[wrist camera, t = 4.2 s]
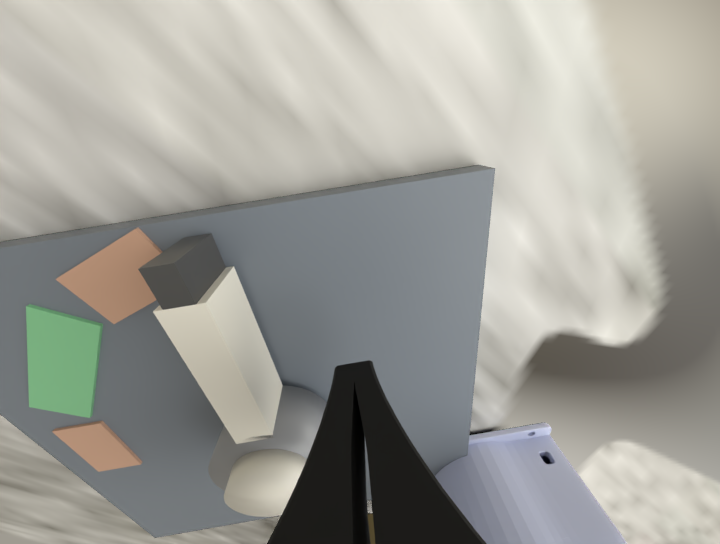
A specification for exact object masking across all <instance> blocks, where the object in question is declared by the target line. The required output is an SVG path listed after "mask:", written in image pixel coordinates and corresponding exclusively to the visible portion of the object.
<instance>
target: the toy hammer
mask: <svg viewBox="0 0 720 544" xmlns="http://www.w3.org/2000/svg"><path fill="white" fill-rule="evenodd" d="M138 270H139V271H140V273H141V275H142V276H143V278H144V280H145V281H146V283H147V285H148V286H149V288H150V290H151V291H152V293H153V295H154V296H155V298H156V300H157V301H158V303H159V304H160V305H159V306H158V307H157V308H156V309H155V310H154V311H153V313H154V314H155V316H156V317H157V319H158V321H159V322H160V324H161V325H162V327H163V329H164V330H165V332H166V333H167V335H168V336H169V338H170V340H171V341H172V343H173V344H174V346H175V348H176V349H177V351H178V352H179V354H180V355H181V357H182V359H183V360H184V362H185V363H186V365H187V367H188V368H189V370H190V371H191V373H192V375H193V376H194V378H195V379H196V381H197V382H198V384H199V386H200V387H201V389H202V390H203V392H204V394H205V395H206V397H207V398H208V400H209V401H210V403H211V405H212V406H213V408H214V409H215V411H216V413H217V414H218V416H219V417H220V419H221V421H222V422H223V424H224V426H223V428H222V431H221V434H220V436H219V439H218V442H217V444H216V447H215V449H214V452H213V455H212V457H211V460H210V463H209V467H208V471H209V475H210V478H211V479H212V481H213V482H214V483H215V484H216V485H217V486H218V487H219V488H220V489H222V490H224V491H225V493H224V501H225V503H226V504H227V505H228V507H230V508H231V509H233V510H234V511H236V512H239V513H242V514H245V515H249V516H257V517H272V516H280V515H282V513H283V511H284V509H285V507H286V505H287V503H288V501H289V499H290V497H291V495H292V492H293V490H294V488H295V486H296V483H297V481H298V479H299V477H300V474H301V472H302V470H303V467H304V465H305V463H306V460H307V458H308V455H309V453H310V450H311V447H312V445H313V442H314V439H315V437H316V434H317V431H318V429H319V426H320V423H321V420H322V416H323V413H324V410H325V407H326V404H327V403H326V402H325V400H323V399H322V398H321V397H320V396H318V395H317V394H315V393H313V392H311V391H309V390H306V389H303V388H299V387H294V386H285V385H282V383H281V380H280V378H279V375H278V373H277V370H276V368H275V365H274V363H273V361H272V358H271V356H270V353H269V351H268V348H267V346H266V344H265V341H264V339H263V336H262V334H261V331H260V329H259V326H258V324H257V322H256V319H255V317H254V314H253V312H252V309H251V307H250V304H249V302H248V300H247V297H246V295H245V292H244V290H243V287H242V285H241V283H240V280H239V278H238V275H237V273H236V270H235V268H234V266H232V267H226V266H225V264H224V262H223V259H222V257H221V254H220V252H219V250H218V247H217V245H216V243H215V240H214V238H213V236H212V233H209V234H203V235H197V236H191V237H185V238H182V239H181V240H180V241H178V242H177V243H175V244H174V245H172V246H171V247H169V248H168V249H166V250H165V251H163V252H162V253H161V254H159V255H158V256H156V257H155V258H153V259H152V260H150V261H149V262H147V263H146V264H145V265H143V266H142V267H140V268H139V269H138Z"/></svg>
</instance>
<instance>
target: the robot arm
mask: <svg viewBox="0 0 720 544" xmlns="http://www.w3.org/2000/svg"><path fill="white" fill-rule="evenodd" d="M550 432H551V427H550V426H549V424H548V423H545V422H544V423H537V424H532V425H526V426H520V427H515V428H509V429H503V430H497V431H491V432H486V433H480V434H474V435H469V445H468V455H467V456H464V457H461V458H459V459H457V460H455V461H453V462H451V463H449V464H448V465H446V466H445V467H444V468H442V469H441V470H440V471H439V472H438V473H437V474H436V476H434V475H433V473H432V472H431V470H430V469H429V467H428V466H427V465H426V463H425V462H424V460H423V459H422V457H421V456H420V454H419V453H418V451H417V450H416V448H415V447H414V445H413V443H412V442H411V440H410V439H409V437H408V435H407V434H406V432H405V430H404V429H403V427H402V425H401V424H400V422H399V420H398V418H397V417H396V415H395V413H394V411H393V409H392V407H391V405H390V404H389V402H388V400H387V398H386V396H385V394H384V392H383V389H382V387H381V385H380V383H379V380H378V378H377V375H376V372H375V369H374V366H373V362H372V361H370V360H367V361H361V362H356V363H350V364H344V365H338V366H336V367H335V369H334V376H333V381H332V385H331V389H330V393H329V397H328V400H327V404H326V407H325V410H324V413H323V416H322V420H321V423H320V426H319V429H318V431H317V434H316V437H315V439H314V442H313V445H312V447H311V450H310V453H309V455H308V458H307V460H306V463H305V465H304V467H303V470H302V472H301V474H300V477H299V479H298V481H297V483H296V486H295V488H294V490H293V492H292V495H291V497H290V499H289V501H288V503H287V505H286V507H285V509H284V511H283V513H282V515H281V517H280V519H279V521H278V523H277V525H276V527H275V529H274V531H273V533H272V535H271V537H270V539H269V541H268V543H267V544H371V542H370V533H369V523H368V511H367V492H366V462H365V441H366V448H367V455H368V466H369V477H370V488H371V499H372V510H373V522H374V533H375V544H627V543H626V541H625V539H624V538H623V537H622V535H621V534H620V532H619V531H618V529H617V528H616V526H615V525H614V524H613V522H612V521H611V519H610V518H609V517H608V515H607V514H606V513H605V511H604V510H603V508H602V507H601V506H600V504H599V503H598V501H597V500H596V499H595V497H594V496H593V494H592V493H591V492H590V490H589V489H588V487H587V486H586V485H585V483H584V482H583V480H582V479H581V478H580V476H579V475H578V474H577V472H576V471H575V469H574V468H573V467H572V465H571V464H570V462H569V461H568V460H567V458H566V457H565V455H564V454H563V453H562V451H561V450H560V449H559V447H558V446H557V444H556V443H555V442H554V440H553V439H552V437H551V436H550Z"/></svg>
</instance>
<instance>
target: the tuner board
mask: <svg viewBox="0 0 720 544" xmlns="http://www.w3.org/2000/svg"><path fill="white" fill-rule="evenodd" d="M494 174H495V168H491V167H486V166H481V165H476V166H470V167H464V168H457V169H451V170H445V171H439V172H432V173H426V174H420V175H414V176H408V177H401V178H395V179H389V180H383V181H377V182H370V183H364V184H358V185H352V186H345V187H339V188H333V189H327V190H321V191H314V192H308V193H302V194H296V195H290V196H283V197H277V198H271V199H265V200H258V201H252V202H246V203H240V204H234V205H227V206H221V207H215V208H209V209H203V210H196V211H190V212H184V213H178V214H171V215H165V216H159V217H153V218H147V219H140V220H134V221H128V222H122V223H115V224H109V225H103V226H97V227H91V228H84V229H78V230H72V231H66V232H60V233H53V234H47V235H41V236H35V237H28V238H22V239H16V240H10V241H4V242H0V414H1V415H2V416H3V417H4V418H6V419H7V420H8V421H9V422H11V423H12V424H13V425H14V426H16V427H17V428H18V429H19V430H21V431H22V432H23V433H24V434H26V435H27V436H28V437H29V438H31V439H32V440H33V441H34V442H36V443H37V444H38V445H39V446H41V447H42V448H43V449H44V450H46V451H47V452H48V453H49V454H51V455H52V456H53V457H54V458H56V459H57V460H58V461H59V462H61V463H62V464H63V465H64V466H66V467H67V468H68V469H69V470H71V471H72V472H73V473H74V474H76V475H77V476H78V477H79V478H81V479H82V480H83V481H84V482H86V483H87V484H88V485H89V486H91V487H92V488H93V489H94V490H96V491H97V492H98V493H99V494H101V495H102V496H103V497H104V498H106V499H107V500H108V501H109V502H111V503H112V504H113V505H114V506H116V507H117V508H118V509H120V510H121V511H122V512H123V513H125V514H126V515H127V516H128V517H130V518H131V519H132V520H133V521H135V522H136V523H137V524H138V525H140V526H141V527H142V528H143V529H145V530H146V531H147V532H148V533H150V534H151V535H152V536H153V537H155V538H157V537H163V536H168V535H174V534H180V533H185V532H191V531H197V530H202V529H208V528H214V527H219V526H225V525H231V524H236V523H242V522H248V521H253V520H259V519H265V518H270V517H257V516H249V515H245V514H242V513H239V512H236V511H234V510H233V509H231V508H230V507H228V505H227V504H226V503H225V501H224V493H225V491H224V490H222V489H220V488H219V487H218V486H217V485H216V484H215V483H214V482H213V481H212V479H211V478H210V475H209V471H208V467H209V463H210V460H211V457H212V455H213V452H214V449H215V447H216V444H217V442H218V439H219V436H220V434H221V431H222V428H223V426H224V424H223V422H222V421H221V419H220V417H219V416H218V414H217V413H216V411H215V409H214V408H213V406H212V405H211V403H210V401H209V400H208V398H207V397H206V395H205V394H204V392H203V390H202V389H201V387H200V386H199V384H198V382H197V381H196V379H195V378H194V376H193V375H192V373H191V371H190V370H189V368H188V367H187V365H186V363H185V362H184V360H183V359H182V357H181V355H180V354H179V352H178V351H177V349H176V348H175V346H174V344H173V343H172V341H171V340H170V338H169V336H168V335H167V333H166V332H165V330H164V329H163V327H162V325H161V324H160V322H159V321H158V319H157V317H156V316H155V314H154V313H153V311H154V310H155V309H156V308H157V307H158V306H159V305H160V304H159V303H158V301H157V300H156V298H155V296H154V295H153V293H152V291H151V290H150V288H149V286H148V285H147V283H146V281H145V280H144V278H143V276H142V275H141V273H140V271H139V270H138V269H139V268H140V267H142V266H143V265H145V264H146V263H147V262H149V261H150V260H152V259H153V258H155V257H156V256H158V255H159V254H161V253H162V252H163V251H165V250H166V249H168V248H169V247H171V246H172V245H174V244H175V243H177V242H178V241H180V240H181V239H182V238H185V237H191V236H197V235H203V234H209V233H212V236H213V238H214V240H215V243H216V245H217V247H218V250H219V252H220V254H221V257H222V259H223V262H224V264H225V266H226V267H232V266H234V268H235V270H236V273H237V275H238V278H239V280H240V283H241V285H242V287H243V290H244V292H245V295H246V297H247V300H248V302H249V304H250V307H251V309H252V312H253V314H254V317H255V319H256V322H257V324H258V326H259V329H260V331H261V334H262V336H263V339H264V341H265V344H266V346H267V348H268V351H269V353H270V356H271V358H272V361H273V363H274V365H275V368H276V370H277V373H278V375H279V378H280V380H281V383H282V385H285V386H294V387H299V388H303V389H306V390H309V391H311V392H313V393H315V394H317V395H318V396H320V397H321V398H322V399H323V400H325V402H326V403H327V400H328V397H329V393H330V389H331V385H332V381H333V376H334V369H335V367H336V366H338V365H344V364H350V363H356V362H361V361H367V360H370V361H372V362H373V366H374V369H375V372H376V375H377V378H378V380H379V383H380V385H381V387H382V389H383V392H384V394H385V396H386V398H387V400H388V402H389V404H390V405H391V407H392V409H393V411H394V413H395V415H396V417H397V418H398V420H399V422H400V424H401V425H402V427H403V429H404V430H405V432H406V434H407V435H408V437H409V439H410V440H411V442H412V443H413V445H414V447H415V448H416V450H417V451H418V453H419V454H420V456H421V457H422V459H423V460H424V462H425V463H426V465H427V466H428V467H429V469H430V470H431V472H432V473H433V475H434V476H436V474H437V473H438V472H439V471H440V470H441V469H442V468H444V467H445V466H446V465H448V464H449V463H451V462H453V461H455V460H457V459H459V458H461V457H464V456H467V455H468V445H469V434H470V424H471V413H472V403H473V393H474V382H475V372H476V361H477V351H478V340H479V330H480V320H481V309H482V299H483V288H484V278H485V268H486V257H487V247H488V236H489V226H490V216H491V205H492V195H493V184H494ZM365 462H366V492H367V500H372V499H371V488H370V477H369V466H368V455H367V448H366V441H365ZM280 516H281V515H280ZM272 517H276V516H272Z"/></svg>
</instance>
